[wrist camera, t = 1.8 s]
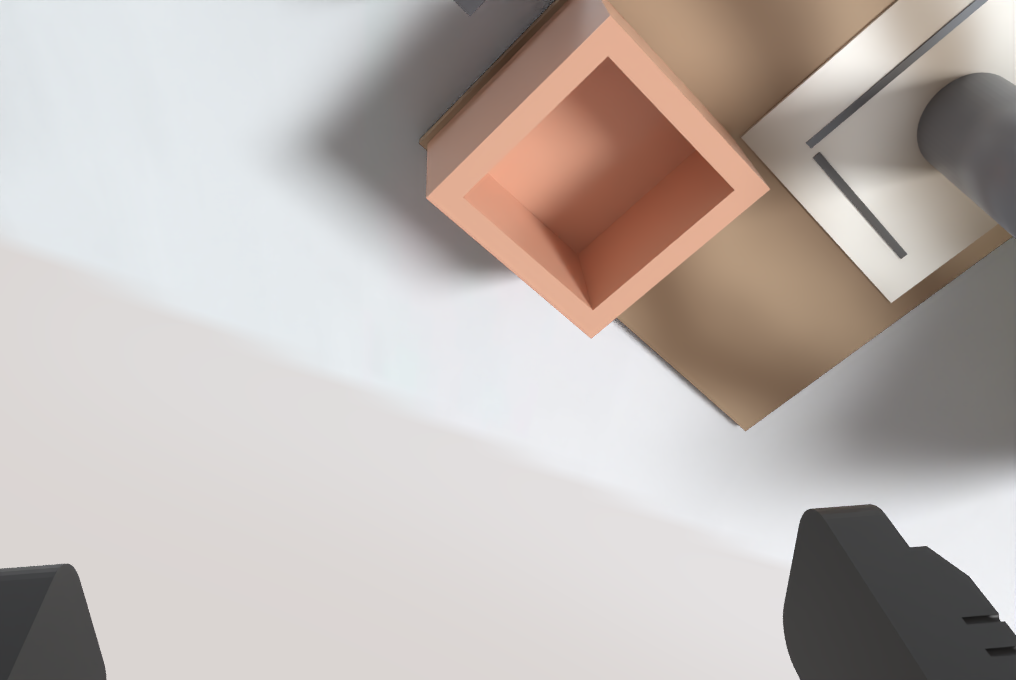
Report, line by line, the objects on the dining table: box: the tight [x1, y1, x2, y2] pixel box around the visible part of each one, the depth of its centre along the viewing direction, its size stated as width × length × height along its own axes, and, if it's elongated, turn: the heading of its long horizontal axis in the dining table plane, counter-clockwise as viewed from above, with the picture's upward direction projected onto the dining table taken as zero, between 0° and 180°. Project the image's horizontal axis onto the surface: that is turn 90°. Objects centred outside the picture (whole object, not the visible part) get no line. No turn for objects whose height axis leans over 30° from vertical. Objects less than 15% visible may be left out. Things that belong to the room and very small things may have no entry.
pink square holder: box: [426, 0, 770, 338], centre depth 31 cm, size 8×8×4 cm
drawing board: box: [419, 0, 1016, 431], centre depth 33 cm, size 20×19×1 cm
